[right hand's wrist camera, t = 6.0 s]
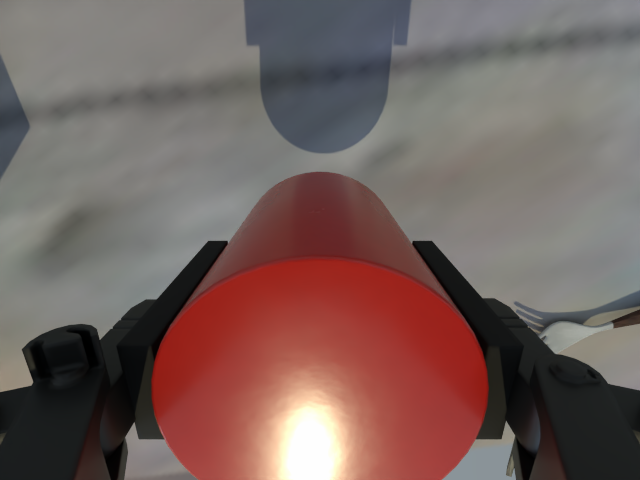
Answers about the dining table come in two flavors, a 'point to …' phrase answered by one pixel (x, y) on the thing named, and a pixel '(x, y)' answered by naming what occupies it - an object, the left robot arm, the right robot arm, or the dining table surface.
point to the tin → (319, 350)
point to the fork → (580, 331)
